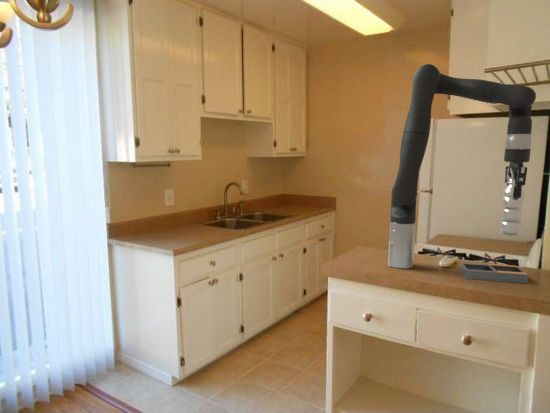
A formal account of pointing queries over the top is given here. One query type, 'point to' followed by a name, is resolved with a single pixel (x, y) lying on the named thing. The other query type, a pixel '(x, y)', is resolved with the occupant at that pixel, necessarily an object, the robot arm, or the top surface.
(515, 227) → the plastic bottle
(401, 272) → the top surface
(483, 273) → the grey tray
